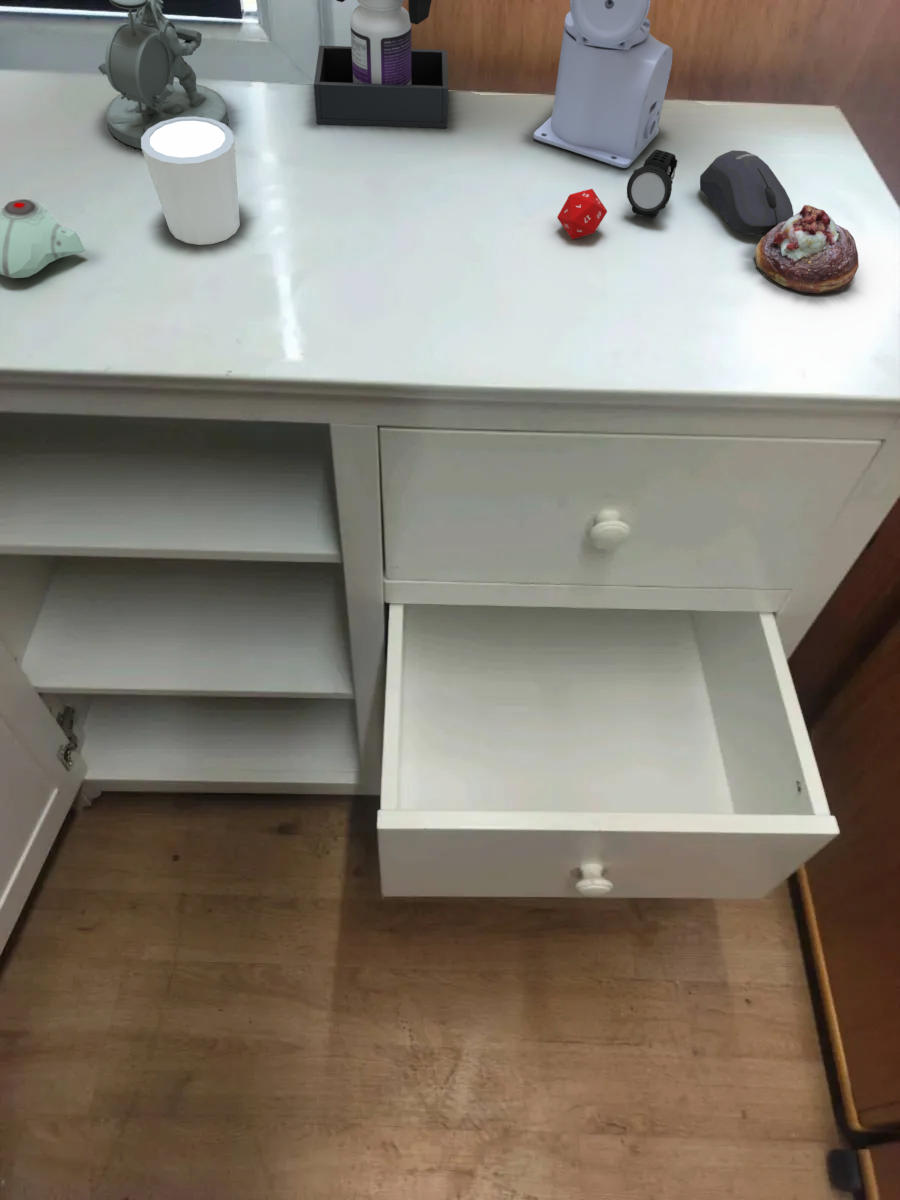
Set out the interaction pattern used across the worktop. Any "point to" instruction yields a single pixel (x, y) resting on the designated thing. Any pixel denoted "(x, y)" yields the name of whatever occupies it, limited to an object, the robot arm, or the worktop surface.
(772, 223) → the computer mouse
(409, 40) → the pill bottle
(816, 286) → the pastry
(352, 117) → the bin
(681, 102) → the worktop surface
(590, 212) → the die
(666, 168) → the smartwatch
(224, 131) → the white cylinder
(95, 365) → the worktop surface
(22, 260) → the robot head
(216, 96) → the figurine
